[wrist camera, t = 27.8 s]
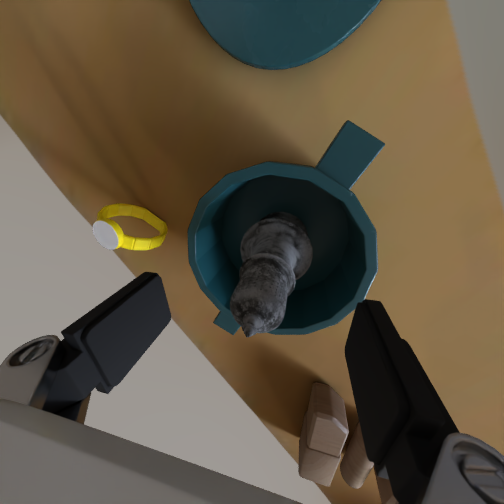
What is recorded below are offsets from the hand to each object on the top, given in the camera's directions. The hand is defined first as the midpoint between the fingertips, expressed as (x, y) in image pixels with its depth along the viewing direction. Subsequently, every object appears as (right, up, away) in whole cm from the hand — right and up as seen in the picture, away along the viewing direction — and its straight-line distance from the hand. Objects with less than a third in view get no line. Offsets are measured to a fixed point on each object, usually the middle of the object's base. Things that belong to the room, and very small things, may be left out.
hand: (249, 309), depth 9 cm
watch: (-11, +7, +13) cm, 18 cm away
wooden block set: (+17, -23, +19) cm, 34 cm away
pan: (+3, +4, +10) cm, 11 cm away
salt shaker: (+3, +4, +10) cm, 11 cm away
